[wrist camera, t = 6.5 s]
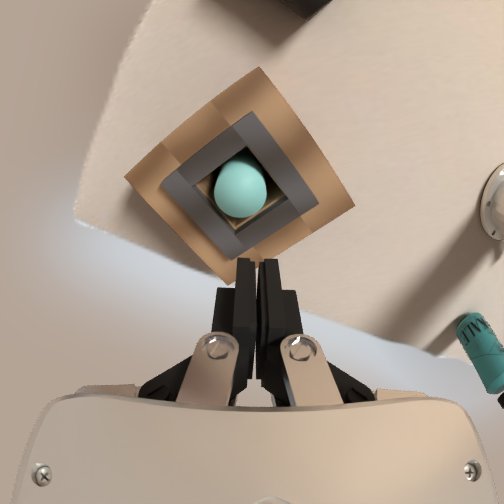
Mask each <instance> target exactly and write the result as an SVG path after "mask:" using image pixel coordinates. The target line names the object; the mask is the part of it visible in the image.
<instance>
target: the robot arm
mask: <svg viewBox="0 0 504 504" xmlns="http://www.w3.org/2000/svg"><path fill="white" fill-rule="evenodd" d="M480 216H481V223H482V226H483V228H484V230H485V232H486V233H487V234H488V235H489V236H491V237H492V238H493V239H496V240H503V239H504V164H502V165H501V166H499V167H498V168H497V169H496V171H495V172H494V173H493V174H492V176H491V177H490V179H489V181H488V183H487V185H486V187H485V190H484V193H483V196H482V201H481V207H480ZM255 341H256V379H261V387H264V388H265V389H266V390H267V391H269V392H270V393H271V400H272V404H273V407H240V406H236V401H237V394H239V393H240V392H241V391H243V390H244V389H245V388H246V387H247V379H252V372H253V363H254V351H255ZM11 504H499V503H498V498H497V493H496V488H495V484H494V480H493V477H492V473H491V469H490V466H489V463H488V459H487V456H486V453H485V450H484V447H483V444H482V442H481V439H480V437H479V434H478V432H477V430H476V427H475V425H474V423H473V422H472V420H471V418H470V416H469V415H468V413H467V412H466V410H465V409H464V408H463V407H462V406H461V405H459V404H458V403H456V402H453V401H451V400H447V399H443V398H438V397H429V396H427V395H426V394H424V393H421V392H413V391H398V390H385V389H377V390H376V391H371V390H370V389H369V388H368V387H367V386H366V385H364V384H362V383H361V382H359V381H358V380H356V379H354V378H353V377H351V376H349V375H348V374H347V373H345V372H343V371H342V370H340V369H339V368H337V367H336V366H334V365H332V364H331V363H329V362H328V361H326V358H325V356H324V353H323V351H322V349H321V346H320V345H319V343H318V342H317V341H316V340H315V339H314V338H312V337H310V336H308V335H304V334H303V329H302V323H301V317H300V312H299V306H298V301H297V295H296V291H295V290H282V288H281V280H280V272H279V265H278V259H267V258H265V259H264V262H259V270H258V283H257V296H256V272H255V261H250V258H242V257H237V269H236V284H235V288H219V287H218V288H217V294H216V301H215V308H214V316H213V324H212V331H211V333H208V334H206V335H204V336H203V337H201V338H200V340H199V341H198V343H197V345H196V348H195V350H194V353H193V355H192V356H190V357H188V358H187V359H185V360H183V361H182V362H180V363H179V364H177V365H175V366H173V367H172V368H170V369H168V370H167V371H165V372H163V373H162V374H160V375H158V376H157V377H155V378H153V379H151V380H150V381H148V382H146V383H145V384H144V385H143V386H141V387H135V385H134V384H129V385H97V386H96V385H95V386H84V387H81V388H80V389H78V390H77V391H76V392H75V393H74V394H70V395H65V396H62V397H59V398H56V399H54V400H52V401H51V402H50V403H48V404H47V405H46V406H45V408H44V409H43V411H42V412H41V413H40V415H39V417H38V419H37V420H36V422H35V424H34V427H33V429H32V431H31V433H30V436H29V438H28V441H27V444H26V447H25V449H24V452H23V455H22V459H21V462H20V466H19V469H18V473H17V477H16V481H15V485H14V489H13V493H12V498H11Z"/></svg>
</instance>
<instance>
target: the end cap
mask: <svg viewBox="0 0 504 504" xmlns="http://www.w3.org/2000/svg"><path fill="white" fill-rule="evenodd" d="M281 1H282V2H283V3H285V4H286V5H287V6H288V7H290V8H291V9H292V10H293V11H295V12H296V13H297V14H298V15H299V16H301V17H302V18H303V19H304V20H309V19H311V18H312V17H313V16H314V15H316V14H317V13H318V12H319V11H320V10H322V9H323V8H324V7H325V6H326V5H327V4H329V3H330V2H331V1H332V0H281Z"/></svg>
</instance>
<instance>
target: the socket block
mask: <svg viewBox="0 0 504 504" xmlns="http://www.w3.org/2000/svg"><path fill="white" fill-rule="evenodd" d="M246 146H247V147H248V148H249V149H250V150H251V152H252V153H253V154H254V156H255V157H256V158H257V159H258V161H259V162H260V163H261V165H262V166H263V167H264V168H265V170H266V171H267V172H268V173H267V174H265V175H264V179H265V185H266V193H267V195H266V200H265V203H264V205H263V207H262V208H261V209H260V210H259V211H258V212H257V213H255V214H254V215H251V216H249V217H244V218H237V217H232V216H230V215H227V214H226V213H224V212H223V211H222V210H221V209H220V208H219V207H218V205H217V203H216V201H215V197H214V190H215V185H216V182H217V179H218V175H219V172H220V171H219V170H218V169H217V167H219V166H220V165H221V164H223V163H224V162H225V161H227V160H228V159H229V158H231V157H232V156H233V155H235V154H236V153H237V152H239V151H240V150H242V149H243V148H244V147H246ZM124 178H125V179H126V180H127V181H128V182H129V183H130V184H131V185H132V186H133V187H134V189H135V190H136V191H137V192H138V193H139V194H140V195H141V196H142V197H143V198H144V199H145V200H146V202H147V203H148V204H149V205H150V206H151V207H152V208H153V209H154V210H155V211H156V212H157V213H158V214H159V215H160V216H161V218H162V219H163V220H164V221H165V222H166V223H167V224H168V225H169V226H170V227H171V228H172V229H173V230H174V231H175V232H176V233H177V234H178V235H179V236H180V238H181V239H182V240H183V241H184V242H185V243H186V244H187V245H188V246H189V247H190V248H191V249H192V250H193V251H194V252H195V253H196V254H197V255H198V256H199V257H200V258H201V259H202V260H203V261H204V262H205V263H206V264H207V265H208V266H209V267H210V268H211V269H212V270H213V271H214V272H215V273H216V274H217V275H218V276H219V277H220V278H221V279H222V280H223V281H224V282H225V283H226V284H227V285H230V284H231V283H233V282H234V281H236V269H237V257H242V258H250V261H255V269H256V268H257V267H259V262H264V259H265V258H267V259H272V258H273V257H275V256H276V255H278V254H280V253H281V252H283V251H285V250H286V249H288V248H289V247H291V246H293V245H294V244H296V243H297V242H299V241H300V240H302V239H304V238H305V237H307V236H308V235H310V234H312V233H313V232H315V231H316V230H318V229H320V228H321V227H323V226H324V225H326V224H327V223H329V222H331V221H332V220H334V219H335V218H337V217H338V216H340V215H342V214H343V213H345V212H346V211H348V210H349V209H351V208H353V207H354V206H355V204H354V203H353V201H352V199H351V198H350V196H349V194H348V193H347V191H346V189H345V188H344V186H343V184H342V183H341V181H340V179H339V178H338V176H337V175H336V173H335V171H334V170H333V168H332V167H331V165H330V164H329V162H328V160H327V159H326V157H325V156H324V154H323V153H322V151H321V150H320V148H319V147H318V145H317V144H316V142H315V141H314V139H313V138H312V136H311V135H310V134H309V132H308V131H307V129H306V128H305V126H304V125H303V124H302V122H301V121H300V119H299V118H298V116H297V115H296V114H295V112H294V111H293V110H292V108H291V107H290V105H289V104H288V103H287V101H286V100H285V99H284V97H283V96H282V95H281V93H280V92H279V91H278V90H277V88H276V87H275V86H274V84H273V83H272V82H271V80H270V79H269V78H268V77H267V75H266V74H265V73H264V72H263V70H262V69H261V68H260V67H257V68H256V69H254V70H253V71H251V72H250V73H248V74H247V75H245V76H244V77H242V78H241V79H240V80H238V81H237V82H235V83H234V84H233V85H231V86H230V87H229V88H227V89H226V90H224V91H223V92H222V93H220V94H219V95H218V96H216V97H215V98H214V99H212V100H211V101H210V102H209V103H207V104H206V105H205V106H203V107H202V108H201V109H200V110H198V111H197V112H196V113H195V114H193V115H192V116H191V117H190V118H189V119H187V120H186V121H185V122H184V123H182V124H181V125H180V126H179V127H178V128H177V129H175V130H174V131H173V132H172V133H171V134H170V135H168V136H167V137H166V138H165V139H164V140H163V141H162V142H160V143H159V144H158V145H157V146H156V147H155V148H154V149H153V150H152V151H151V152H149V153H148V154H147V155H146V156H145V157H144V158H143V159H142V160H141V161H140V162H139V163H138V164H137V165H136V166H135V167H134V168H132V169H131V170H130V171H129V172H128V173H127V174H126V175H125V176H124Z"/></svg>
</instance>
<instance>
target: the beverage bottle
mask: <svg viewBox="0 0 504 504" xmlns="http://www.w3.org/2000/svg"><path fill="white" fill-rule="evenodd" d="M483 317H484V316H483ZM483 317H482V315H481V314H479V313H472V314H470V315H468V316H467V317H466V318H464V319H463V320H462V321H461V323H460V324H459V325H458V327H457V330H456V334H457V337H458V339H459V340H460V341H459V342H461V344H462V346H463V349H465V351H466V353H467V354H468V356H469V358H470V359H469V360H471V361H472V363H473V365H474V367H475V369H476V370H477V372H478V374H479V376H480V378H481V380H482V382H483V384H484V386H485V388H486V391H487V393H489V394H498V393H500V392H502V391H503V390H504V348H503V347H502V345H501V344H500V342H499V341H500V340H499V341H498V339H497V337H496V336H495V333H494V332H493V330H491V328H490V327H489V326H490V325H489V324H487V322H486V321H485V319H484V318H483ZM498 402H499V403H500V405H501V407H502V408H503V409H504V393H502V394H501V395H500V397H499V398H498Z"/></svg>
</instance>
